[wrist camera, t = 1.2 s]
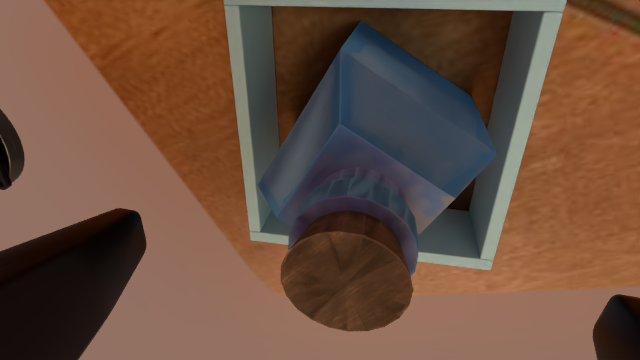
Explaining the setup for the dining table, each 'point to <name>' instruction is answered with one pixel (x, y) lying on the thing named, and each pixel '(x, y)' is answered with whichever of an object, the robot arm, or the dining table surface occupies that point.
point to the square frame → (503, 127)
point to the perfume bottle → (370, 180)
